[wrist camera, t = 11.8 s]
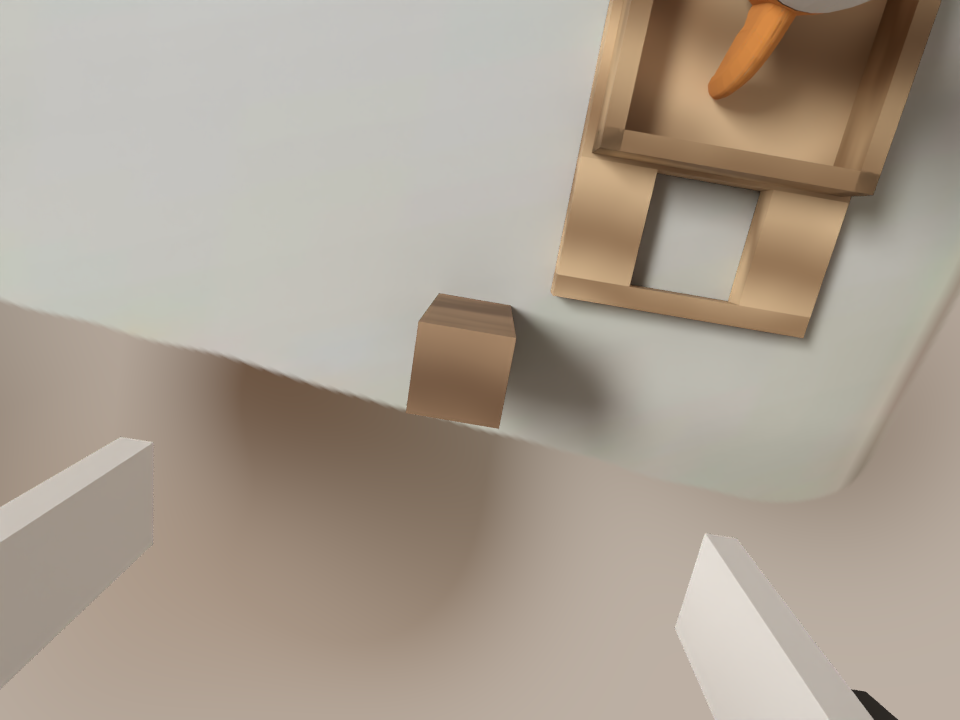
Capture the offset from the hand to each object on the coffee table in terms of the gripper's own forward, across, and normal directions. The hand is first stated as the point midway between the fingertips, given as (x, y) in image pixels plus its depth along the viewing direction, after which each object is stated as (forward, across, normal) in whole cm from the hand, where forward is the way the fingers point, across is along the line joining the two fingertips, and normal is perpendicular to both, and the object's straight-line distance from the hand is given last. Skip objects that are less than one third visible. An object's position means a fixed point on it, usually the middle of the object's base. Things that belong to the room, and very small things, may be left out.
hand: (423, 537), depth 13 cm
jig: (+21, +12, +15) cm, 29 cm away
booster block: (+22, 0, 0) cm, 22 cm away
